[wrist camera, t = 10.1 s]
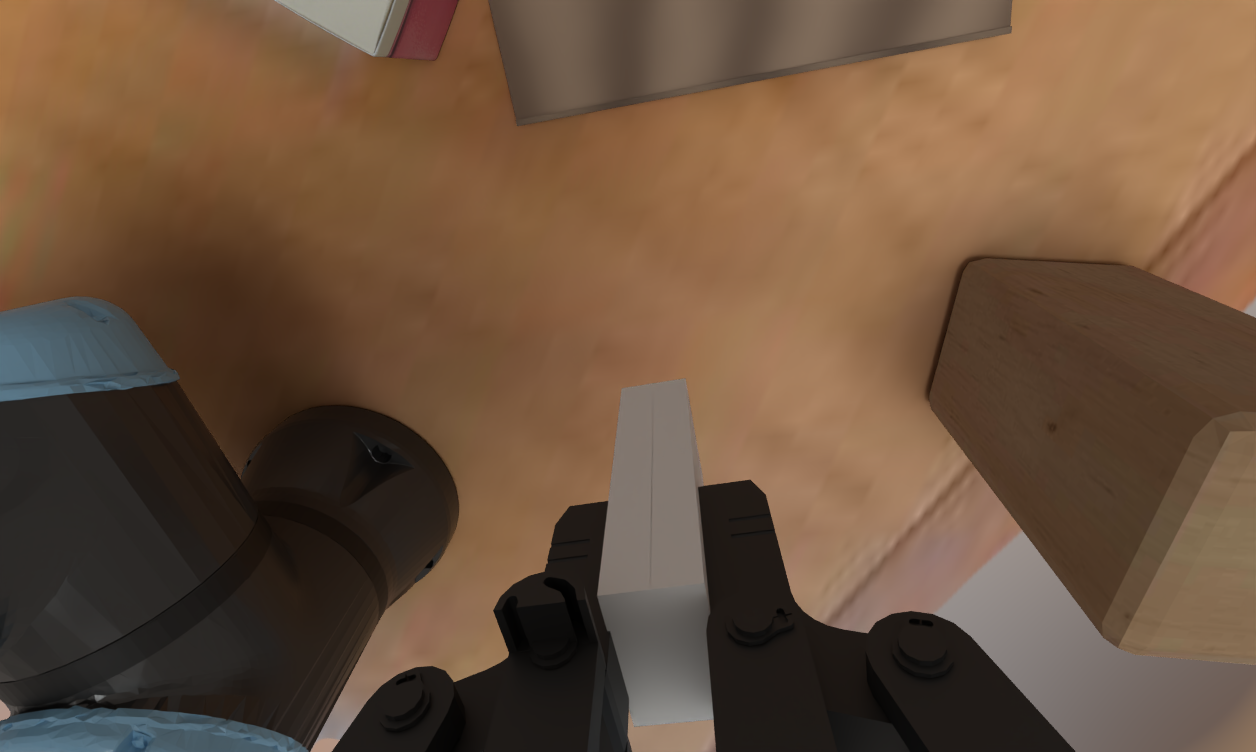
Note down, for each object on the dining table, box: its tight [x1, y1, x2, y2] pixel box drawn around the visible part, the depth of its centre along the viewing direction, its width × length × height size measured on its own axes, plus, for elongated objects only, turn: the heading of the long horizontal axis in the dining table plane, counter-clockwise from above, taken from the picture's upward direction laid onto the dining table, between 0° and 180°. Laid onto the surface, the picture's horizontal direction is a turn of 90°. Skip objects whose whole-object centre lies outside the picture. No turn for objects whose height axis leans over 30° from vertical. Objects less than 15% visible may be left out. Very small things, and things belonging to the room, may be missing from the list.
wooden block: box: [929, 258, 1256, 665], centre depth 29 cm, size 10×10×20 cm
